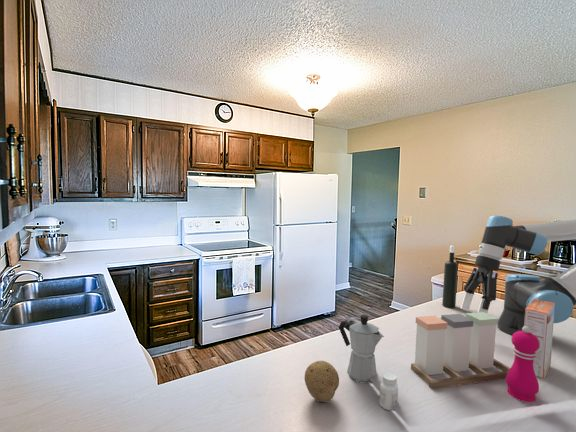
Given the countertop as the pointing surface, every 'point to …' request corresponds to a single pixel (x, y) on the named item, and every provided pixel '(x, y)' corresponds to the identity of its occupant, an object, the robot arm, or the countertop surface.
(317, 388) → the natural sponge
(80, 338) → the countertop surface
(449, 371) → the wooden stand
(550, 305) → the cracker box
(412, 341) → the countertop surface
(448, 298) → the wine bottle
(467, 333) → the gray lidded canister
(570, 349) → the countertop surface
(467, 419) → the countertop surface
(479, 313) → the green lidded canister
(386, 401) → the pill bottle
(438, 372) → the orange lidded canister
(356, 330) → the coffee maker
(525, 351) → the pepper mill
